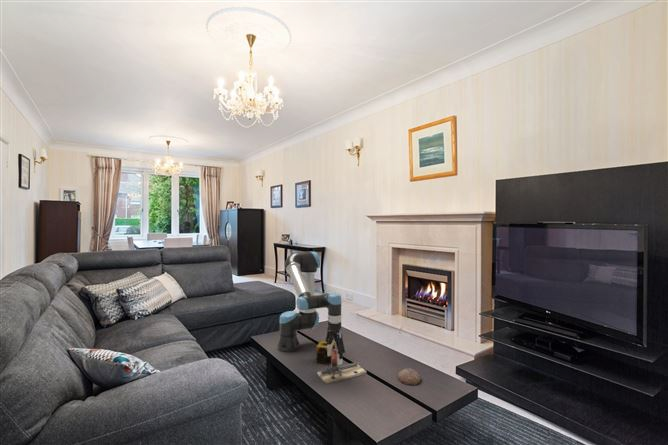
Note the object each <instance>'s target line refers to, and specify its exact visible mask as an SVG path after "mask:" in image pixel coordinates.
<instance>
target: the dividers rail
mask: <svg viewBox="0 0 668 445" xmlns="http://www.w3.org/2000/svg"><path fill="white" fill-rule="evenodd" d="M358 365H359V364H358V362H352V363H348V364H342V365H340V368H339V369H340V370H343V369H347V368H351V367H356V366H358ZM320 371H321V374H326V373H331V374H332V378H334V375H335V373H334V372H335V371H337V370H336V369H331V368H330V366H326V367H325V369H322V370H320Z"/></svg>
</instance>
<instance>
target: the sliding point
mask: <svg viewBox="0 0 668 445" xmlns="http://www.w3.org/2000/svg"><path fill="white" fill-rule="evenodd" d="M340 366H341V365H338V349H337V348H335V349H332V350H331V364H329V368H331V369H336V370H337V371H339V372H340V376H342V371H341V370H340V369H339V368H340Z"/></svg>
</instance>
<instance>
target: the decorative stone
mask: <svg viewBox="0 0 668 445" xmlns="http://www.w3.org/2000/svg"><path fill="white" fill-rule="evenodd" d="M421 378H422V377H421V374H420V373H419V372H417V371H416V370H415V369H413V368H404V369H402V370H400V371H399V373H398V375H397V379H398V381H399V382H400V381H401V382H400V383H402V382H403V383H402V384H404V383H405V385H407V384H417V385H419V384H420V383H421V381H420V380H421ZM419 382H420V383H419ZM418 383H419V384H418Z"/></svg>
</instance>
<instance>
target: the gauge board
mask: <svg viewBox="0 0 668 445" xmlns="http://www.w3.org/2000/svg"><path fill="white" fill-rule="evenodd" d="M341 371H342V376H340V372H339V371H335V372H334V373H335V375H334V378H332V374H331V373H326V374H321V370H320V371H317V376H318V377H319V378H320V379H321V380H322V381H323V383H325V384H326V385H328V384H331V383H336V382H340V381H344V380H347V379H351V378H354V377H359V376H362V375H363V376H364V375H367V373H368V372H367V370H366V369H364V368H363V367H362V366H360V365H359V364H358V366H356V367H351V368H347V369H343V370H341Z"/></svg>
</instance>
